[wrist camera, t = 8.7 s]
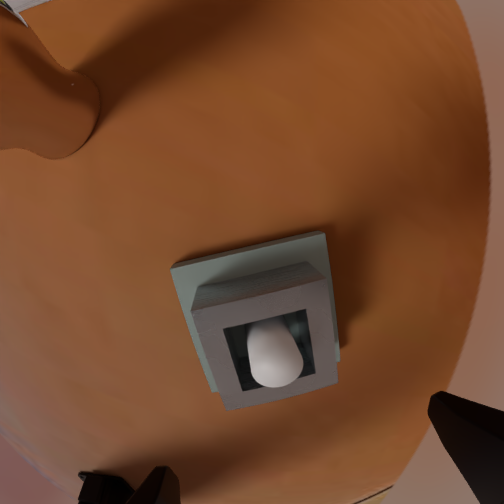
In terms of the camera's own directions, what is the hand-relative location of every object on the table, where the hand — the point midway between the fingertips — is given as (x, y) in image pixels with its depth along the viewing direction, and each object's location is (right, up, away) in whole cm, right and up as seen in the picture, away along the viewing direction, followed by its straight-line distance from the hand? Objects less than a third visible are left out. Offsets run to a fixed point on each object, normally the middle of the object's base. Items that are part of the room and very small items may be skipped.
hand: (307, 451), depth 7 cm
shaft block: (-1, +2, +11) cm, 11 cm away
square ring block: (-1, +2, +10) cm, 10 cm away
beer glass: (-14, +15, +7) cm, 22 cm away
